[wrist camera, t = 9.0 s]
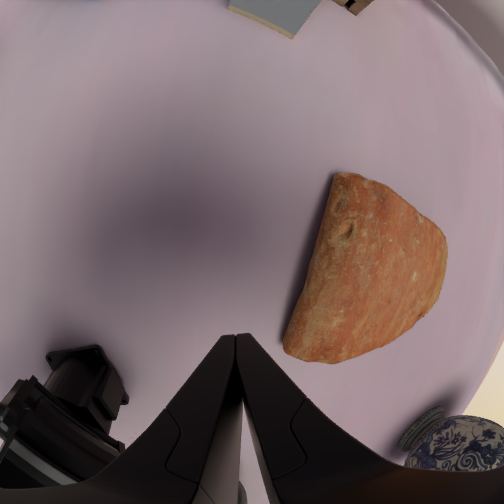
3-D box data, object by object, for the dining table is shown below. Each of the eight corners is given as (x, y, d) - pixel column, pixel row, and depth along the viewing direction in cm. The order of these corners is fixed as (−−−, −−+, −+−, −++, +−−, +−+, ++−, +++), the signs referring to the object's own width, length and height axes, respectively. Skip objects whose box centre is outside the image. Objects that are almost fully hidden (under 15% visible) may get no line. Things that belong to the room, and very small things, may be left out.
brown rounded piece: (419, 378, 21) (279, 363, 19) (394, 343, 27) (272, 320, 25) (489, 239, 17) (356, 166, 15) (448, 223, 23) (326, 166, 21)
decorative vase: (353, 464, 30) (435, 579, 3) (436, 375, 29) (557, 473, 2) (406, 463, 36) (470, 537, 9) (465, 397, 35) (546, 461, 8)
